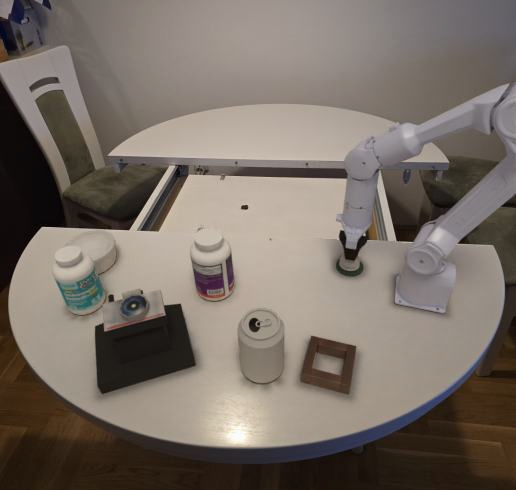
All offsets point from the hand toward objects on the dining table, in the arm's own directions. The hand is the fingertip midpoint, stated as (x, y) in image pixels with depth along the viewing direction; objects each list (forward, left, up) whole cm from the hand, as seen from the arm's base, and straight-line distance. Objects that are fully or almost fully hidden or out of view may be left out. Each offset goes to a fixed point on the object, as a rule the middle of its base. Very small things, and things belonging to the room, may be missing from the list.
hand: (351, 253), depth 87 cm
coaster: (0, 0, -4) cm, 4 cm away
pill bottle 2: (+26, +15, -4) cm, 30 cm away
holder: (0, +27, -4) cm, 27 cm away
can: (+11, +30, -4) cm, 32 cm away
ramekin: (+56, +15, -4) cm, 58 cm away
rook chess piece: (0, 0, -4) cm, 4 cm away
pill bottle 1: (+50, +26, -4) cm, 56 cm away
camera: (+33, +32, -4) cm, 46 cm away
